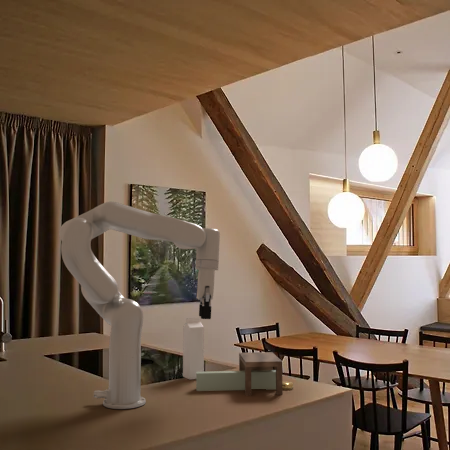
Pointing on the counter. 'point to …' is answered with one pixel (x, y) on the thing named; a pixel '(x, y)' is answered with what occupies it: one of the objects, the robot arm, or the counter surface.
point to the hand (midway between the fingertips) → (204, 317)
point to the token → (287, 385)
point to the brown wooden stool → (260, 367)
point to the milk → (193, 348)
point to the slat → (234, 380)
